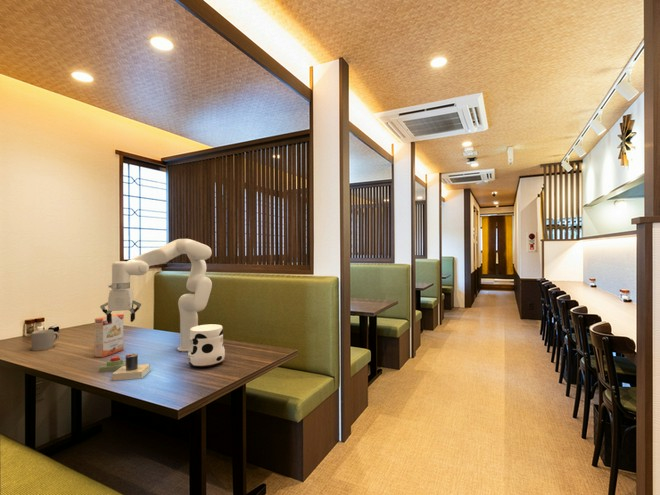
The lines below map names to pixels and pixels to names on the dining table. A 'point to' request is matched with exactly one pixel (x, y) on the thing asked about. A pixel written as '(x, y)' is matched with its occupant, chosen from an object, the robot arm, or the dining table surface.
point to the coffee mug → (43, 339)
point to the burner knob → (131, 362)
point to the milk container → (206, 345)
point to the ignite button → (114, 358)
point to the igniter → (112, 365)
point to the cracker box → (108, 335)
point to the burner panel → (131, 373)
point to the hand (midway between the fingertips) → (121, 322)
